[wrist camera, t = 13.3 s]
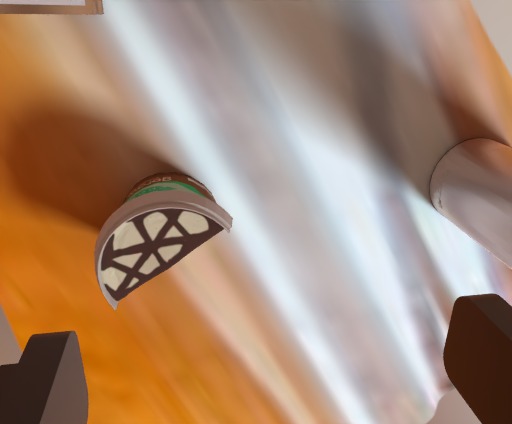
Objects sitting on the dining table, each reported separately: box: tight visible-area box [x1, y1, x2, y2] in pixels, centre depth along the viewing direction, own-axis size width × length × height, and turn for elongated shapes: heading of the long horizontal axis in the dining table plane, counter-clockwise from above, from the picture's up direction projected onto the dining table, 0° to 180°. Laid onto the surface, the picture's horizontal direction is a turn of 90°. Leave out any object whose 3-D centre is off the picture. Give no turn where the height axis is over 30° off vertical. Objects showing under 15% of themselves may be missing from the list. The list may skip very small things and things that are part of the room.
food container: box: [94, 173, 233, 310], centre depth 39 cm, size 12×6×10 cm, turn 123°
